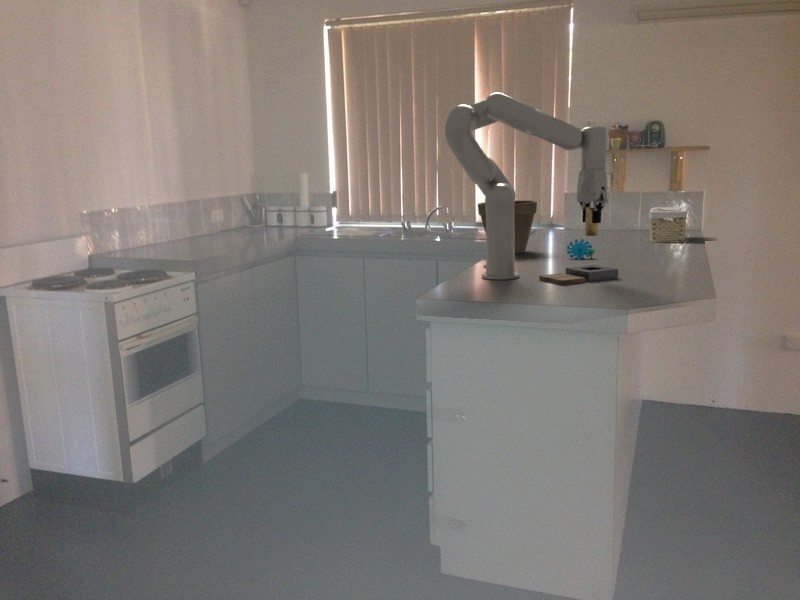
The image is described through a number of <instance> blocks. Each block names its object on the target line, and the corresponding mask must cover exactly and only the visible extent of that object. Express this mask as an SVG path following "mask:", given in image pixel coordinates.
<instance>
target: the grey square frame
mask: <svg viewBox="0 0 800 600" xmlns="http://www.w3.org/2000/svg"><path fill="white" fill-rule="evenodd" d="M565 274H568V275H573V276H578V277H583V278H585V282H596V281H597V282H598V281H604V280H605V281H606V280H612V279H614V278H615V279H619V269H618V268H613V267H609V266H602V265H596V264H591V265H580V266H573V267H572V266H571V267H565Z"/></svg>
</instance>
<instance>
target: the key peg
mask: <svg viewBox="0 0 800 600" xmlns="http://www.w3.org/2000/svg"><path fill="white" fill-rule="evenodd" d="M592 211H594V207H593V206H592V207H587V208H586V218H585V222H584V223H585V224H584V225H585V226H584V236H585V237H586V236H587V237H595V236H598V235H599V234H598V233H599V232H598V231H599V223H592Z"/></svg>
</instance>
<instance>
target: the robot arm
mask: <svg viewBox="0 0 800 600" xmlns="http://www.w3.org/2000/svg"><path fill="white" fill-rule="evenodd" d="M497 122H499V123H501V124H503V125H506V126H508V127H511V128H513V129H515V130H517V131H519V132H521V133H524V134H526V135H529V136H533V137H537V138H539V139H542V140H544V141H546V142H548V143H551V144H553V145H554V146H557V147H559V148H561V149H563V150H565V151H574V150H581V163H580V164H581V166H580V168H581V170H579V173H578V179H577V186H576V199H577V201H576V202H578V203H579V205H580V207H581V210H582V223H585V218H586V208H587V207H591V206H592V204H593V206H592V207H594V211H592V223H598V224H600V223H602V211H603V210H604V209H603V208H604V207H605V206H606V205H607V204H608V203H609V200H608V199H609V198H608V178H607V177H608V176H607V170H606V157H607V156H606V155H607V154H606V153H607V129H606V127H604V126H586V127H584V128H583V127H577V126H575V125H573V124H570V123H568V122H566V121H563V120H561V119H559V118H557V117H555V116H552V115H550V114H548V113H546V112H544V111H542V110H541V109H538V108H536V107H534V106H531V105H529V104H527V103H525V102H523V101H521V100H519V99H518V100H517V99H516V98H513V97H511V96H509V95H507V94H504V93H503V92H493V93H491V94H490V95H488V97H486V99H483V100H481V101H477V102H474V103H472V104H469V105H467V104H457V105H456V106H455V107H454V108H452V109H451V111H450V112H449V114H448V116H447V119H446V121H445V125H444V134H445V140H446V142H447V144H448V146H449V149H450V150H451V152H452V154H453V155H454V156H455V158H456V159H457V162H459V164H460V165H461V167H462V168H463V170H464V171H465V173H466V175H467V176H468V178H469V179H470V181H471V182H472V183H473V184H475V185H476V186H477V187H478V188H479V189H480V191H481V193H482V194H483V195H484V197H485V199H484V203H485V211H486V233H485V236H486V237H485V238H486V239H485V240H486V241H485V242H486V244H485V245H486V249H485V250H486V262H485V264H483V266H482V267H483V268H484V269H485V272H483V273H481V277H482V278H483V279H485V280H486V279H487V280H493V281H494V280H495V281H497V280H498V281H499V280H500V281H502V280H504V281H505V280H513V279H515V280H516V279H519V277H520V273H519V272H516V269H515V265H516V264H515V262H516V261H515V260H516V259H515V256H516V254H515V225H514V202H515V201H516V199H517V195H516V191H515V188H514V187H513V185H512V184H511V183H510V181H509V180H508V178H507V177H506V176H505V174H504V173H503V171H502V170H501V168H500V167H499V166H498V164H497V163H496V162H495V160H493V158H490V157H488V156H487V154H486V153H485V152H484V150H483V149H482V147H481V146H480V144H479V142H477V140H476V138H475V137H474V136H473V133H472V131H476V130H478V129H481V128H484V127H487V126H490V125H493V124H495V123H497Z"/></svg>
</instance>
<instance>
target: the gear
mask: <svg viewBox="0 0 800 600" xmlns="http://www.w3.org/2000/svg"><path fill="white" fill-rule="evenodd" d="M574 243H575V244H574ZM574 243H573V241H570V242H569V245H567V246H566V255H569V258H571V259H572V258H574V260H575V261H576V260H577V261H578V260H579V258H580V260H585V256H586V258H588V257H589V258H590V259H593V255H594V254H595V253H596V249H595V248H593V244H590V241H589V240H586V241H585V239H584V238H580V241H579V239H577V238H575V239H574ZM584 255H585V256H584Z"/></svg>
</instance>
